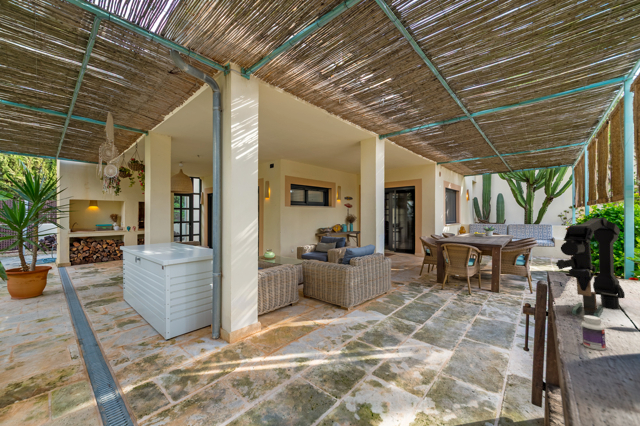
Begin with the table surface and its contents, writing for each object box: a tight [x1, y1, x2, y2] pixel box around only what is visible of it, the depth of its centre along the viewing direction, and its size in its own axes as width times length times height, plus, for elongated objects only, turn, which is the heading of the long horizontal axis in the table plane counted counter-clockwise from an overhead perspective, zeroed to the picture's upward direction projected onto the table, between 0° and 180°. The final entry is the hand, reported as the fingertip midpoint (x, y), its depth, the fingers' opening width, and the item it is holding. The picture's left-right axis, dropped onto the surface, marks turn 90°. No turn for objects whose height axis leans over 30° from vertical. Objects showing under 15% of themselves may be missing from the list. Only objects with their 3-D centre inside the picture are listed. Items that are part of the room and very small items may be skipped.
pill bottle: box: [580, 315, 607, 351], centre depth 88 cm, size 5×5×10 cm
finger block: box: [575, 277, 592, 296], centre depth 115 cm, size 3×4×8 cm
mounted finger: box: [582, 291, 598, 311], centre depth 121 cm, size 3×4×8 cm
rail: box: [571, 302, 604, 318], centre depth 118 cm, size 16×8×3 cm, turn 128°
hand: (584, 290), depth 115 cm, fingers closed on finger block, 3 cm apart
